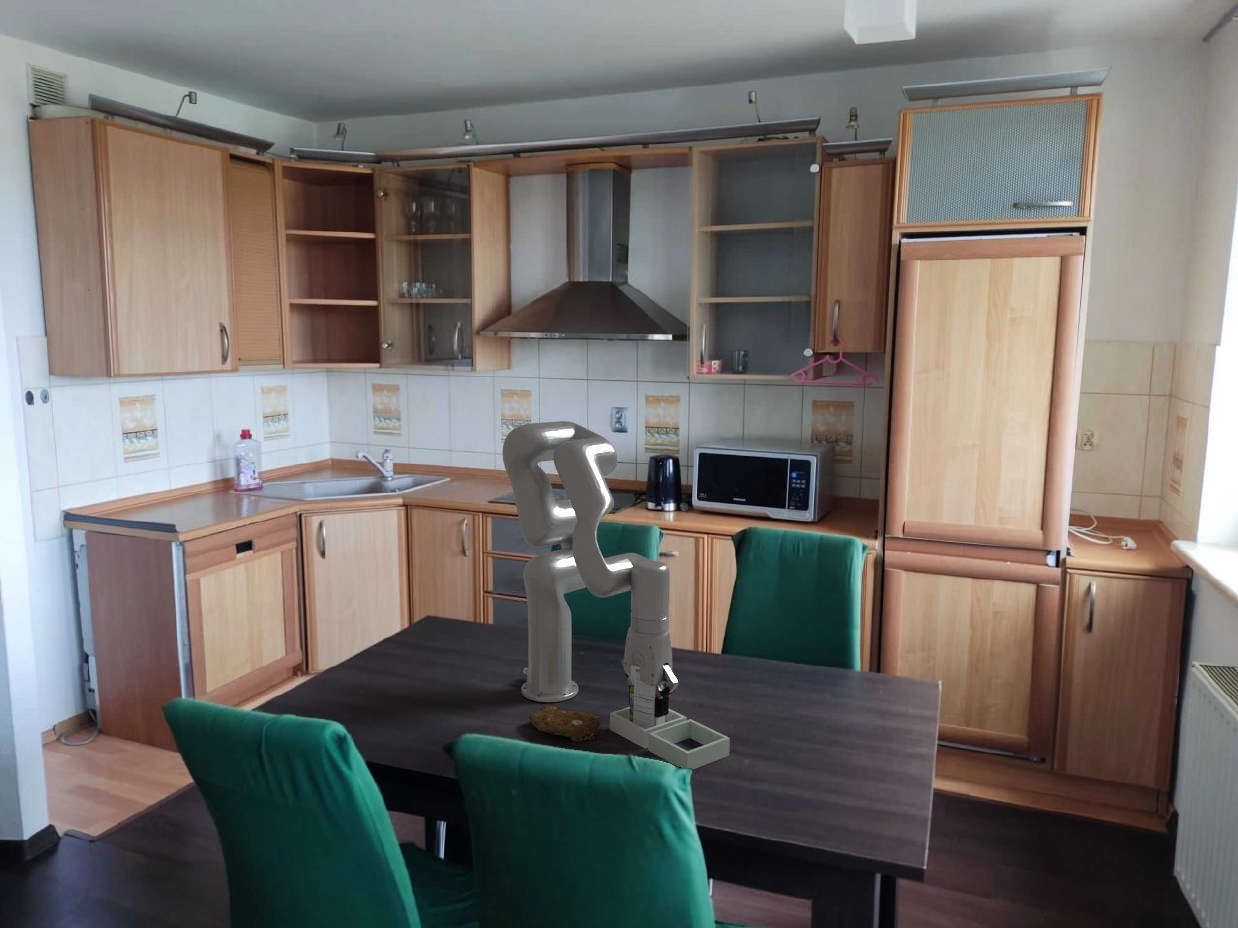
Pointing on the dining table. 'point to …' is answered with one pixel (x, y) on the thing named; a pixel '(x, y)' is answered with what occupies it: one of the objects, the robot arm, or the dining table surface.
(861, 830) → the dining table surface
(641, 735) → the bin
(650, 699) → the syrup box
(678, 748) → the bin
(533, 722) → the decorative rock
